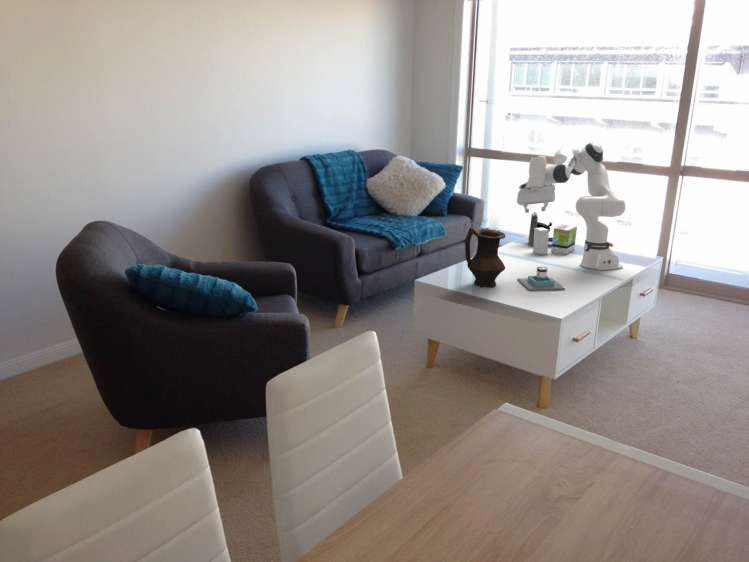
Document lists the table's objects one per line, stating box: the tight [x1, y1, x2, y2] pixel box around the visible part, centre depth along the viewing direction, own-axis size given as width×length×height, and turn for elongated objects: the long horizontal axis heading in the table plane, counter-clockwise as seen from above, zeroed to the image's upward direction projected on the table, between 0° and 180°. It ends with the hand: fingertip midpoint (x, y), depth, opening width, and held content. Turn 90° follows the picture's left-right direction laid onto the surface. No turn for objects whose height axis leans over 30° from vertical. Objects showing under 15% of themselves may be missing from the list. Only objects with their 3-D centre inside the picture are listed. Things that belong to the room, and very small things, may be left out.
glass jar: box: [535, 266, 548, 281], centre depth 328 cm, size 5×5×8 cm
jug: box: [464, 226, 506, 288], centre depth 325 cm, size 21×18×30 cm
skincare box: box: [532, 228, 550, 255], centre depth 390 cm, size 8×6×15 cm
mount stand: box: [517, 275, 566, 292], centre depth 329 cm, size 18×18×4 cm
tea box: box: [550, 224, 578, 255], centre depth 395 cm, size 15×10×15 cm
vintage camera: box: [528, 211, 553, 247], centre depth 409 cm, size 10×16×20 cm, turn 78°
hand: (535, 211), depth 338 cm, fingers open, 8 cm apart
